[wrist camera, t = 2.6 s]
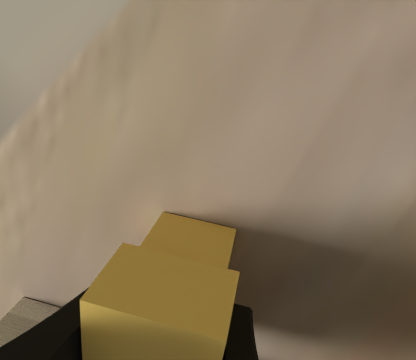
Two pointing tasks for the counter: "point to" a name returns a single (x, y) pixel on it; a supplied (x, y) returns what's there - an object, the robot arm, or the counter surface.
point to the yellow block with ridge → (163, 296)
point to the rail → (23, 318)
